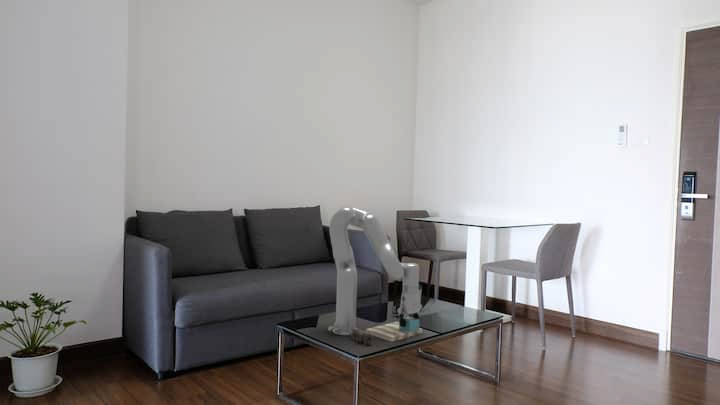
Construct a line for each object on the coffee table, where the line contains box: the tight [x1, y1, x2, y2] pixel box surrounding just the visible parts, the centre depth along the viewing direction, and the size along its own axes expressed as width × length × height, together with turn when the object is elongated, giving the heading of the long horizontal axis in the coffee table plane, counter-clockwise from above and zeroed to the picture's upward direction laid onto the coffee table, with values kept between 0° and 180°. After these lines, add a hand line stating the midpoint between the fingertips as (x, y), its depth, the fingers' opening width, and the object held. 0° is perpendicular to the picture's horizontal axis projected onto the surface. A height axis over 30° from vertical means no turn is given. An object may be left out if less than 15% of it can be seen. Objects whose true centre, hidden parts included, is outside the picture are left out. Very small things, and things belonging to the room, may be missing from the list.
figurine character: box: [390, 303, 413, 318], centre depth 275 cm, size 7×8×15 cm
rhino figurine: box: [349, 328, 373, 347], centre depth 230 cm, size 4×14×6 cm, turn 42°
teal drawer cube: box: [398, 317, 420, 332], centre depth 245 cm, size 7×7×5 cm
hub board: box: [365, 321, 424, 343], centre depth 245 cm, size 22×17×6 cm
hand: (409, 324), depth 245 cm, fingers open, 9 cm apart
